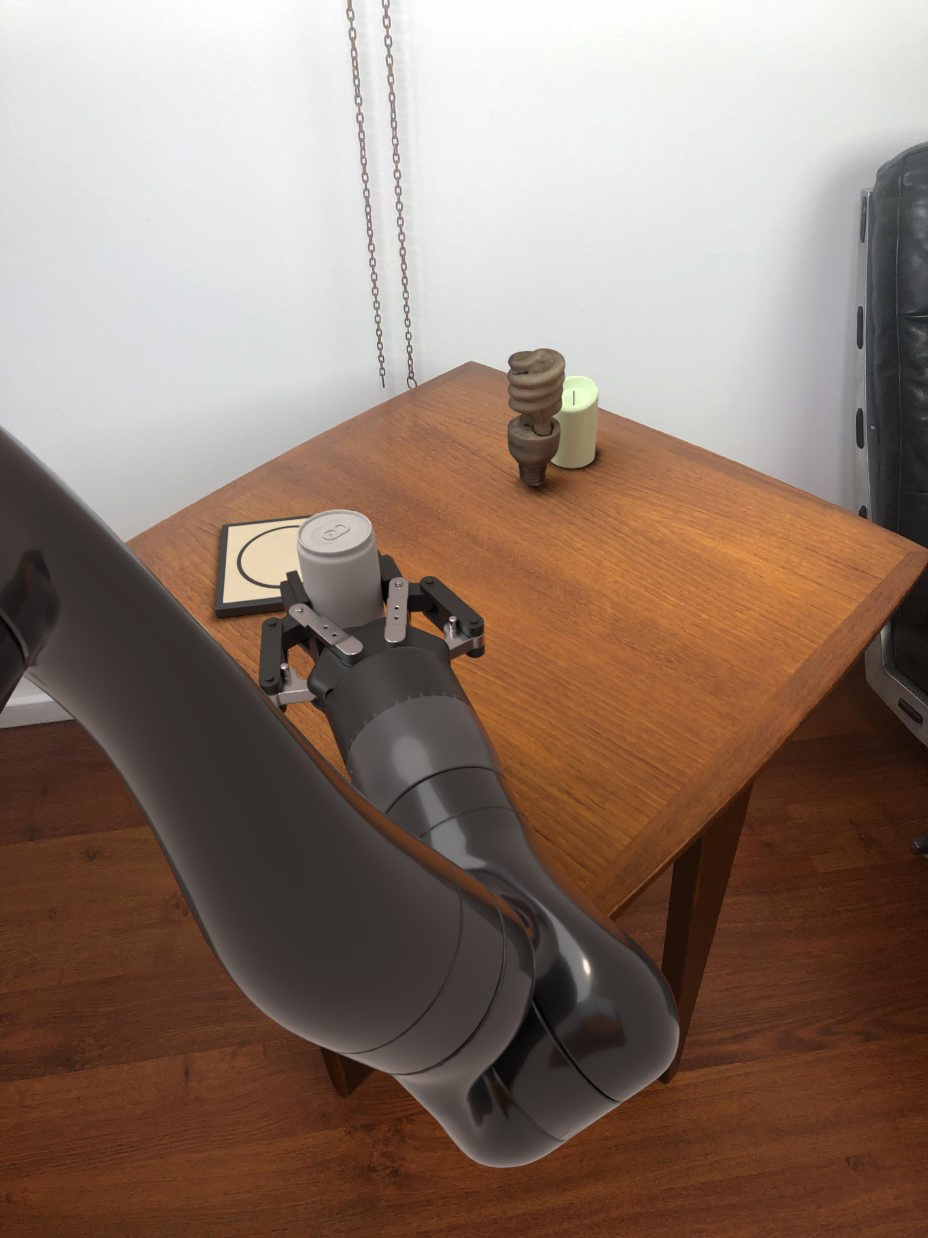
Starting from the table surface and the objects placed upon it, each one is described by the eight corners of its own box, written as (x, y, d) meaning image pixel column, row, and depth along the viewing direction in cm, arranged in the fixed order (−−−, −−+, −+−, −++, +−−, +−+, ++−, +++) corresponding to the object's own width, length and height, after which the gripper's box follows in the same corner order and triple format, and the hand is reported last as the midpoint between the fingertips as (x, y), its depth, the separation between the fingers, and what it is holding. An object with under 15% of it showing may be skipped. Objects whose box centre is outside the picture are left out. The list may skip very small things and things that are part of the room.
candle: (585, 472, 100) (589, 402, 95) (540, 463, 102) (542, 393, 97) (601, 449, 104) (605, 379, 98) (557, 440, 106) (559, 371, 100)
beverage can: (307, 678, 65) (277, 533, 58) (359, 642, 68) (337, 499, 60) (355, 711, 63) (330, 563, 55) (407, 672, 65) (391, 526, 58)
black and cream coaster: (217, 618, 85) (214, 608, 84) (224, 532, 95) (221, 522, 94) (363, 601, 86) (362, 590, 85) (355, 518, 96) (354, 508, 95)
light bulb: (572, 484, 99) (578, 348, 89) (539, 508, 96) (542, 370, 86) (529, 466, 102) (530, 332, 92) (496, 489, 99) (493, 353, 89)
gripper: (542, 664, 50) (432, 497, 62) (271, 745, 47) (212, 552, 59) (540, 759, 55) (439, 587, 67) (295, 839, 51) (236, 643, 64)
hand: (333, 572), depth 63 cm, fingers closed on beverage can, 5 cm apart
